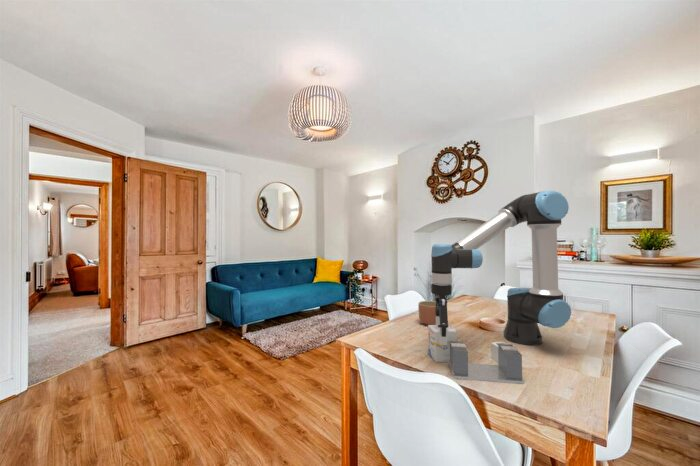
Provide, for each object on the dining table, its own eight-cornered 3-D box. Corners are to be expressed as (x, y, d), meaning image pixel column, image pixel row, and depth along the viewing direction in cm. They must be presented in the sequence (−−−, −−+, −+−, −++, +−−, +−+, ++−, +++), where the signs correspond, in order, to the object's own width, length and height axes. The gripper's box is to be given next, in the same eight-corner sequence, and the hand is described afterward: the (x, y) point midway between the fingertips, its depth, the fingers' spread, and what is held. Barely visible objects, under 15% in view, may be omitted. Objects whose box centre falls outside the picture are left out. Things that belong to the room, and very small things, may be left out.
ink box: (427, 353, 118) (427, 324, 118) (448, 352, 118) (447, 323, 118) (435, 362, 109) (435, 331, 109) (457, 361, 110) (457, 330, 110)
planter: (445, 327, 149) (445, 306, 149) (421, 327, 149) (421, 306, 149) (438, 320, 161) (438, 300, 161) (416, 320, 161) (416, 300, 161)
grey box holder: (511, 368, 104) (511, 342, 104) (523, 383, 93) (523, 355, 93) (449, 363, 108) (449, 338, 108) (454, 378, 97) (454, 350, 97)
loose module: (502, 357, 113) (502, 340, 113) (515, 365, 107) (515, 347, 107) (491, 358, 113) (490, 341, 113) (503, 366, 106) (503, 348, 106)
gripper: (428, 278, 127) (428, 327, 127) (434, 289, 102) (434, 349, 102) (446, 279, 125) (446, 328, 125) (456, 290, 101) (456, 351, 101)
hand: (441, 338), depth 114 cm, fingers open, 13 cm apart
